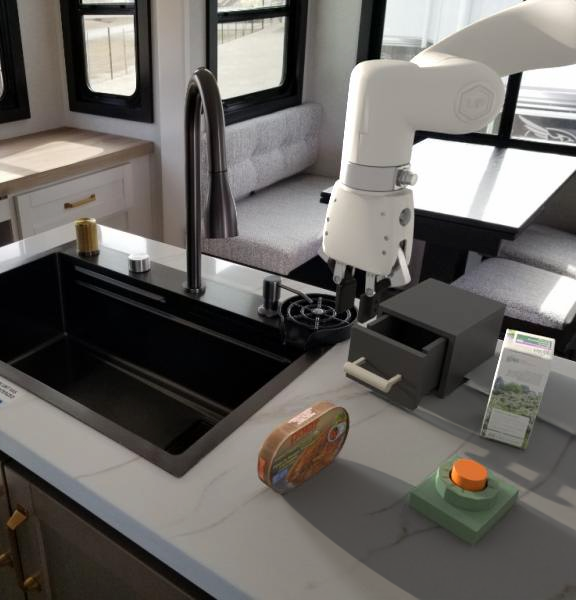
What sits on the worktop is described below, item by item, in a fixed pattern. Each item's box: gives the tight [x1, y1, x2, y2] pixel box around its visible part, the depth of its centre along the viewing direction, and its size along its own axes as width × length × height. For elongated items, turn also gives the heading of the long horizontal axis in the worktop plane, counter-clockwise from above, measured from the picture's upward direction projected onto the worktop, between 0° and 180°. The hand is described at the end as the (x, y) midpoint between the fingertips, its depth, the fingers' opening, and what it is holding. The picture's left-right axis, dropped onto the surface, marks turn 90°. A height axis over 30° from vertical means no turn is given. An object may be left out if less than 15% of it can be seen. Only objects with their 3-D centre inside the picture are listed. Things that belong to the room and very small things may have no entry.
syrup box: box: [479, 328, 556, 450], centre depth 84 cm, size 6×6×14 cm
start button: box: [451, 458, 488, 492], centre depth 73 cm, size 4×4×2 cm
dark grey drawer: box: [342, 314, 449, 412], centre depth 94 cm, size 18×12×9 cm, turn 130°
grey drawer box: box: [375, 277, 508, 400], centre depth 100 cm, size 15×13×11 cm
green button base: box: [407, 454, 520, 547], centre depth 74 cm, size 10×8×4 cm
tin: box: [256, 400, 350, 495], centre depth 79 cm, size 15×3×8 cm, turn 129°
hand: (355, 313), depth 82 cm, fingers closed
